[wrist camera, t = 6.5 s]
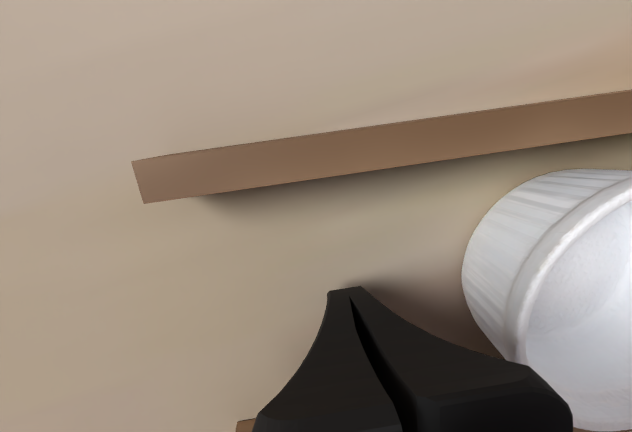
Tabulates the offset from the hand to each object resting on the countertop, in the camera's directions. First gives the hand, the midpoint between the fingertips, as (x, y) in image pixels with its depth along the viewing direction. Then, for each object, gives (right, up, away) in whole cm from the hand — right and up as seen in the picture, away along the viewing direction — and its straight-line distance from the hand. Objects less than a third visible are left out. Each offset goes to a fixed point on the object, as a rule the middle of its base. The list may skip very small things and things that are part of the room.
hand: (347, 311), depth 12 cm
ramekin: (+9, +2, +2) cm, 9 cm away
